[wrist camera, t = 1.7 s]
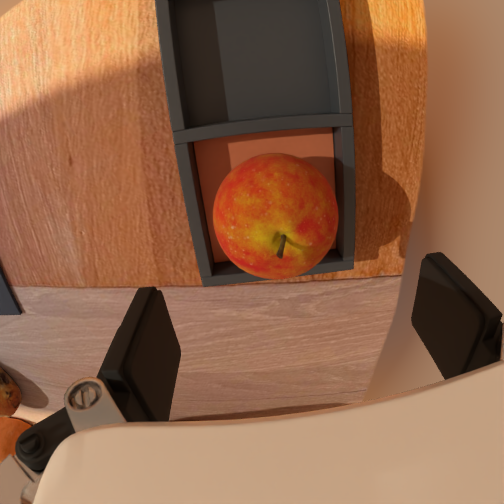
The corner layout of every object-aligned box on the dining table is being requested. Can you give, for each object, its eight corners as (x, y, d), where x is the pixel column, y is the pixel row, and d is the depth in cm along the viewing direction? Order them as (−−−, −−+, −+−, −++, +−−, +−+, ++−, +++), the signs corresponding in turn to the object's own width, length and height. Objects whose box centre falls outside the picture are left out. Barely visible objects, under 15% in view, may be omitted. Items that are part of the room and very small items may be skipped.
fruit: (277, 122, 19) (299, 136, 11) (341, 202, 21) (387, 257, 14) (195, 192, 21) (171, 245, 13) (263, 261, 23) (272, 337, 16)
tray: (162, -6, 15) (153, -16, 12) (324, -21, 14) (332, -33, 12) (206, 270, 24) (202, 287, 22) (344, 254, 24) (353, 269, 21)
